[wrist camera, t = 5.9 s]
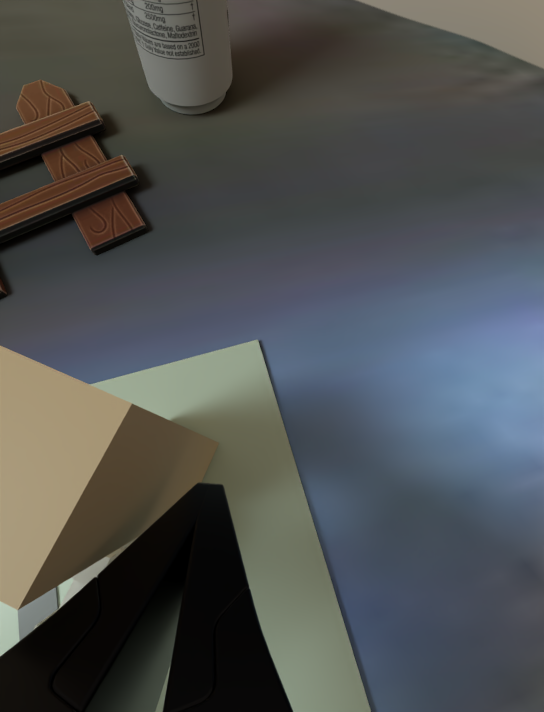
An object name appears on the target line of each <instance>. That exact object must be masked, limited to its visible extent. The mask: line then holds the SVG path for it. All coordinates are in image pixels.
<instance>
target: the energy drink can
mask: <svg viewBox="0 0 544 712" xmlns="http://www.w3.org/2000/svg"><path fill="white" fill-rule="evenodd" d="M123 3H124V6H125V9H126V13H127V16H128V19H129V23H130V26H131V29H132V33H133V36H134V39H135V43H136V46H137V49H138V53H139V56H140V59H141V63H142V66H143V69H144V73H145V76H146V79H147V83H148V86H149V88H150V89H151V91H152V92H153V93H154V94H155V95H156V96H157V97H159V98H160V99H161V101H162V102H163V104H164V105H165V106H166V107H168V108H170V109H171V110H173V111H175V112H178V113H182V114H190V115H192V114H201V113H205V112H208V111H211V110H212V109H214V108H216V107H217V106H218V105H219V104H220V103H221V102H222V101H223V100H224V97H225V95H226V91H227V90H228V89H229V87H230V85H231V83H232V77H233V75H232V61H231V48H230V34H229V21H228V8H227V0H123Z"/></svg>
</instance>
